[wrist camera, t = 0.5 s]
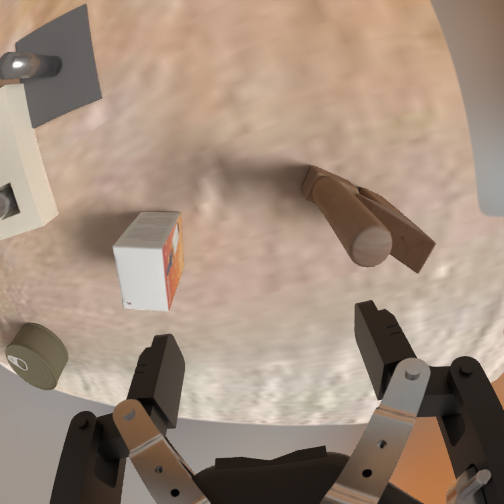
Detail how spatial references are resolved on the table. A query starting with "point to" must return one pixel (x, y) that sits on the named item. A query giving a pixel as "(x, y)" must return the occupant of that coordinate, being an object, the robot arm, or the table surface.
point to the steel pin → (29, 65)
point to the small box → (150, 260)
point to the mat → (73, 67)
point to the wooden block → (366, 222)
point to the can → (37, 356)
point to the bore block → (22, 166)
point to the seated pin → (7, 201)
